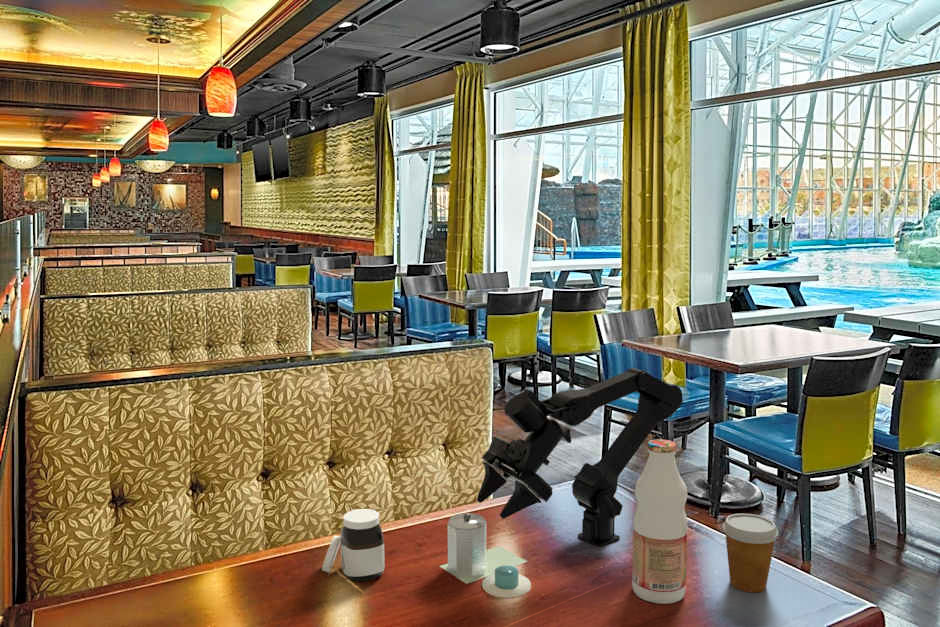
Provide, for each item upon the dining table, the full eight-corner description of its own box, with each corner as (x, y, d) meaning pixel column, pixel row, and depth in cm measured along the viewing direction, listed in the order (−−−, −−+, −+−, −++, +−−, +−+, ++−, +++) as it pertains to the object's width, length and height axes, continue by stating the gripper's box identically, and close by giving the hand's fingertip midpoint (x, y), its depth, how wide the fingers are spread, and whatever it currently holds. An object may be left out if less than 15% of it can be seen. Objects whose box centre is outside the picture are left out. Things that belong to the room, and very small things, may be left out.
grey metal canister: (471, 558, 151) (470, 503, 149) (493, 571, 145) (492, 514, 144) (441, 568, 146) (441, 512, 145) (463, 581, 141) (462, 524, 139)
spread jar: (389, 581, 142) (388, 521, 141) (330, 592, 138) (328, 532, 136) (372, 555, 153) (371, 500, 152) (317, 565, 149) (314, 508, 147)
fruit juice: (621, 589, 138) (623, 441, 134) (655, 575, 143) (658, 432, 140) (661, 611, 130) (665, 454, 127) (696, 594, 136) (701, 444, 132)
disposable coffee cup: (774, 576, 142) (776, 515, 141) (776, 600, 134) (779, 536, 132) (721, 569, 146) (723, 509, 144) (720, 592, 137) (722, 529, 135)
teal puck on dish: (509, 571, 146) (509, 555, 145) (541, 589, 138) (541, 572, 138) (472, 584, 140) (472, 568, 140) (503, 604, 133) (503, 587, 133)
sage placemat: (499, 547, 156) (499, 545, 156) (527, 562, 149) (527, 561, 149) (439, 567, 147) (439, 566, 147) (466, 585, 140) (466, 583, 140)
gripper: (490, 411, 155) (442, 471, 151) (539, 433, 139) (487, 501, 135) (522, 443, 160) (476, 502, 156) (574, 468, 143) (524, 535, 140)
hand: (489, 509), depth 147 cm, fingers open, 9 cm apart
